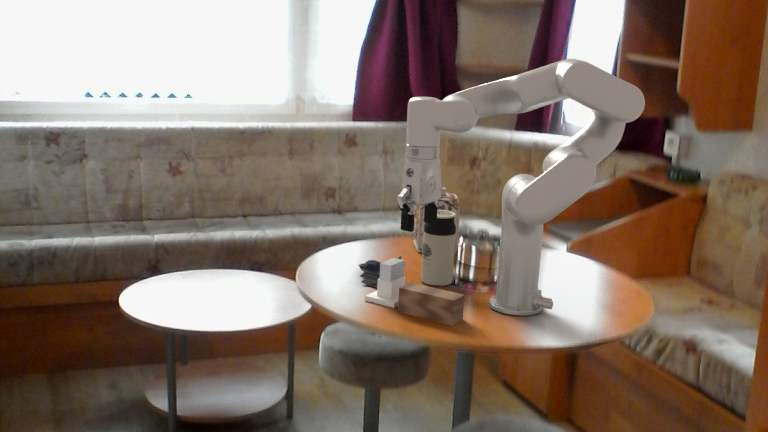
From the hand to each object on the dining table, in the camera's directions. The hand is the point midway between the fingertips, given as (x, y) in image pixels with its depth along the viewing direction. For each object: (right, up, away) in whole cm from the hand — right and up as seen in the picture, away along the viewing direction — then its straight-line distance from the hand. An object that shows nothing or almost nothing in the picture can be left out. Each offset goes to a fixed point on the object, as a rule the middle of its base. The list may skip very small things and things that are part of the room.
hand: (418, 226), depth 199 cm
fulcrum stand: (-6, -17, +8) cm, 20 cm away
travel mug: (+5, -14, +23) cm, 28 cm away
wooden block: (+2, -20, -2) cm, 21 cm away
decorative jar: (+7, -7, +54) cm, 55 cm away
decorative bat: (-10, -13, +26) cm, 31 cm away
